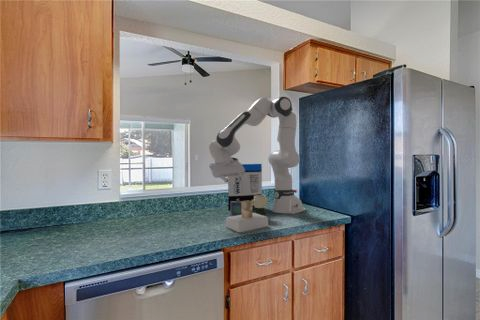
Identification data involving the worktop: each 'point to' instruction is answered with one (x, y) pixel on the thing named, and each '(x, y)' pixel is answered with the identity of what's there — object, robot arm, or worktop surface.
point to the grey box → (246, 222)
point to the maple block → (246, 209)
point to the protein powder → (245, 184)
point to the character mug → (260, 204)
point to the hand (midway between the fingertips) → (233, 180)
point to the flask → (235, 208)
